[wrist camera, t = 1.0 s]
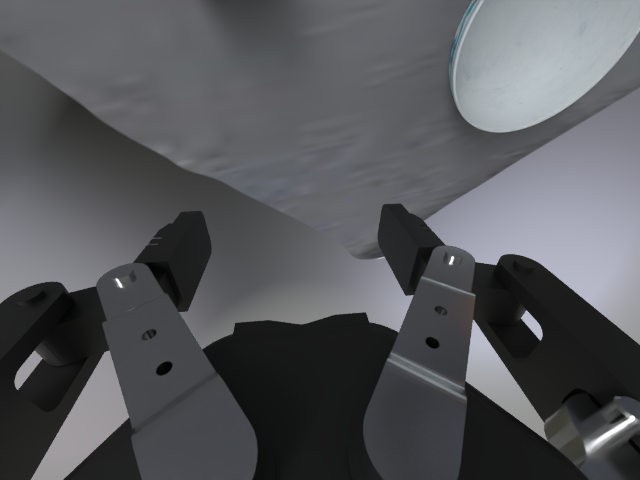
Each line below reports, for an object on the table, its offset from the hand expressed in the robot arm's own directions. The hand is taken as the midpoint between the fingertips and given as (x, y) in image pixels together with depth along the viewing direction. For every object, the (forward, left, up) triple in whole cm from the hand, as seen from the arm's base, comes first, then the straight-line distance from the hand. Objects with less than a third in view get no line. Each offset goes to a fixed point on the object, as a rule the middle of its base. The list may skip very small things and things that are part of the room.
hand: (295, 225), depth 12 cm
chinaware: (-1, +21, -25) cm, 33 cm away
